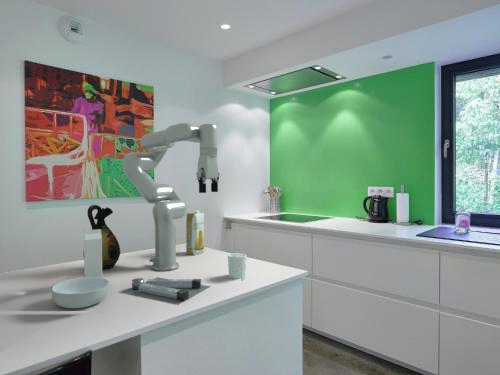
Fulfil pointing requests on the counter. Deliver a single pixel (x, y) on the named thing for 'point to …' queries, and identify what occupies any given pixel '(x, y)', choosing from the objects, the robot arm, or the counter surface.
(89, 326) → the counter surface
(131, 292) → the slate board
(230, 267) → the white cup
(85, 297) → the cereal bowl
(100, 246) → the milk
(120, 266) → the counter surface
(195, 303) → the counter surface
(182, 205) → the robot arm
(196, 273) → the counter surface
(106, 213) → the ceramic jug
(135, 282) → the moving tong arm
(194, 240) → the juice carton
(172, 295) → the bar
